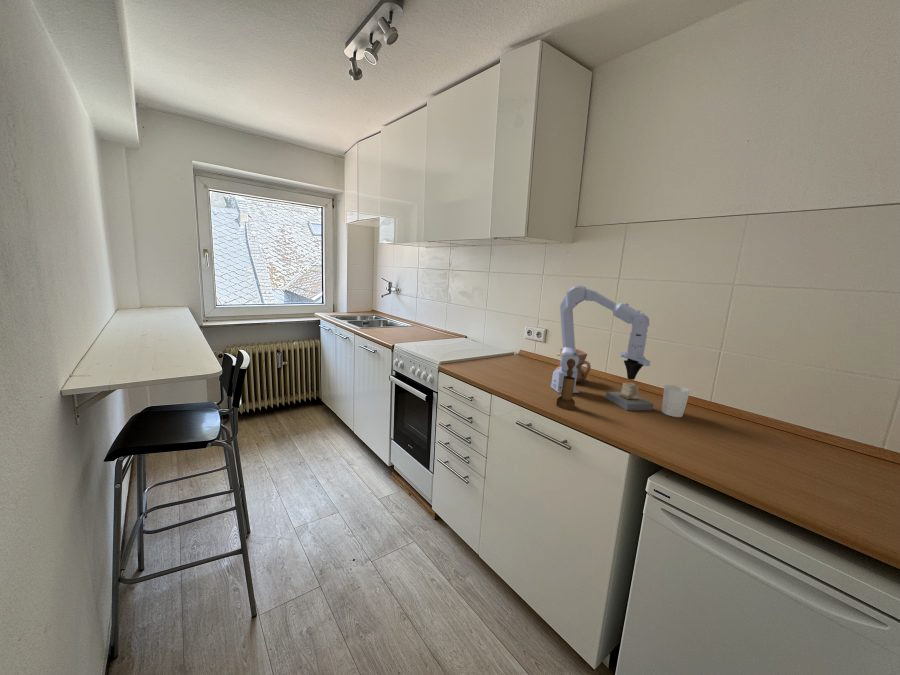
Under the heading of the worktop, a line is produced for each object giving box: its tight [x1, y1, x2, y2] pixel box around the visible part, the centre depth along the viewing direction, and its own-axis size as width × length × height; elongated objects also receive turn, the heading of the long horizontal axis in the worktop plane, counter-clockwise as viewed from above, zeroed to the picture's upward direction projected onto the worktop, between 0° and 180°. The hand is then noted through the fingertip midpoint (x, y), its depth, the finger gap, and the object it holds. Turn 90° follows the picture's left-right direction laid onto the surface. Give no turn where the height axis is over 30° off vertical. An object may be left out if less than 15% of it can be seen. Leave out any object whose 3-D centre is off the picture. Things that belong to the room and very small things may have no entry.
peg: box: [620, 382, 640, 400], centre depth 140 cm, size 4×4×8 cm
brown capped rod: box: [555, 359, 576, 410], centre depth 132 cm, size 7×6×18 cm
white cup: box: [661, 384, 691, 418], centre depth 133 cm, size 8×8×10 cm
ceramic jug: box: [554, 347, 592, 383], centre depth 167 cm, size 18×14×14 cm
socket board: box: [605, 391, 654, 411], centre depth 141 cm, size 11×13×2 cm
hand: (630, 379), depth 140 cm, fingers closed
